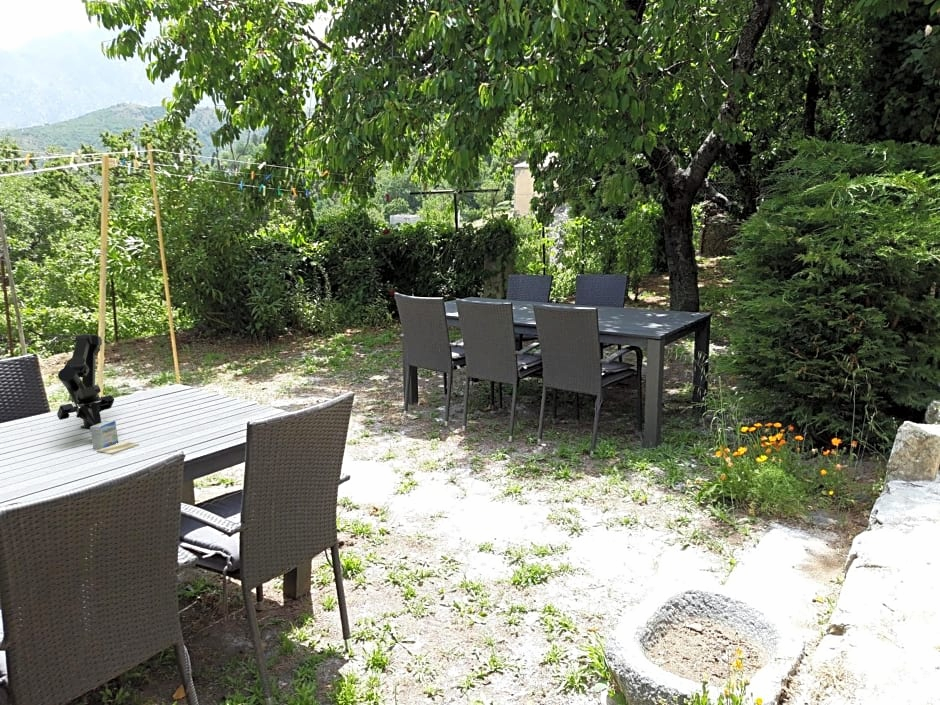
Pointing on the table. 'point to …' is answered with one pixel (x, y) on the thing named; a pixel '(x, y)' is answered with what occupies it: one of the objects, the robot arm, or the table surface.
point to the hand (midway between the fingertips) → (95, 424)
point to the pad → (117, 447)
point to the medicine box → (104, 434)
